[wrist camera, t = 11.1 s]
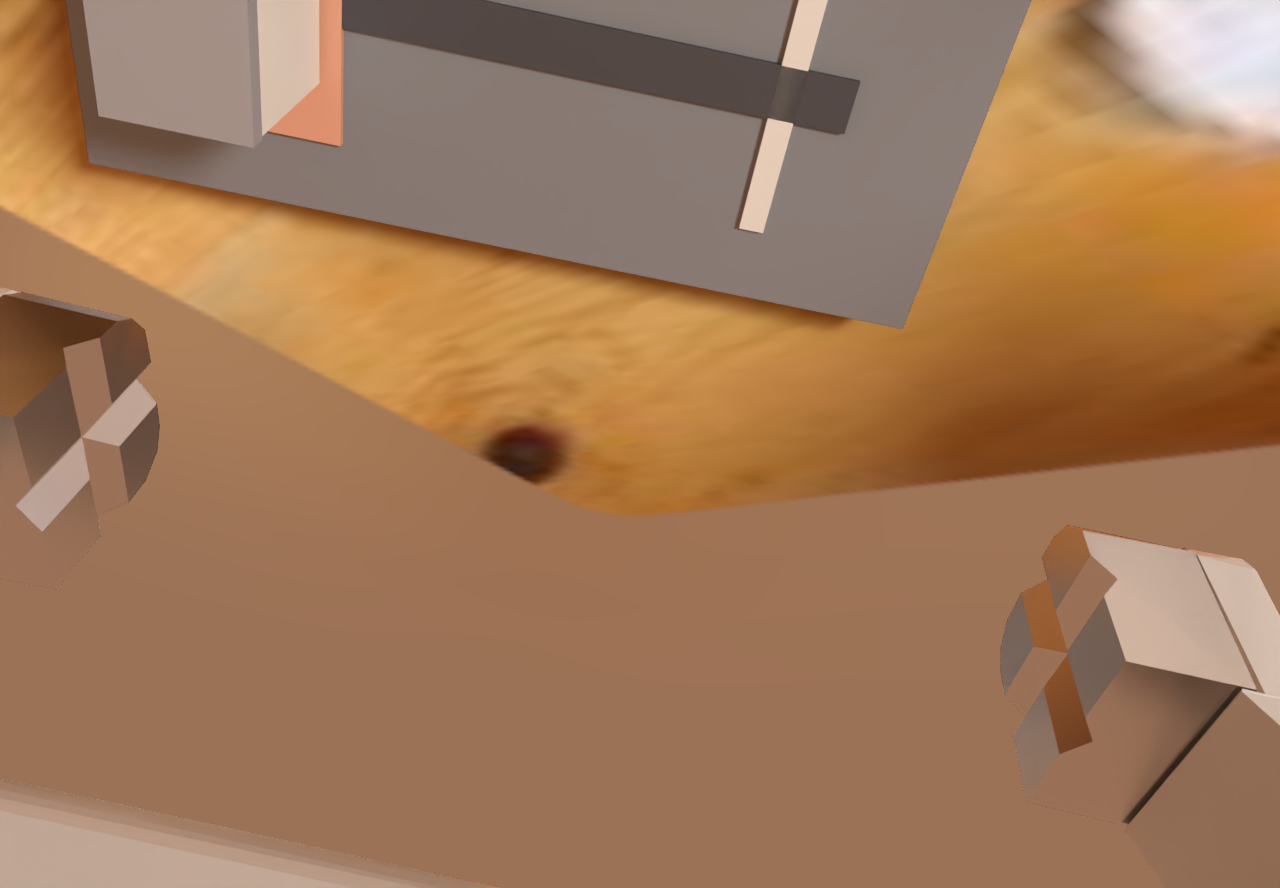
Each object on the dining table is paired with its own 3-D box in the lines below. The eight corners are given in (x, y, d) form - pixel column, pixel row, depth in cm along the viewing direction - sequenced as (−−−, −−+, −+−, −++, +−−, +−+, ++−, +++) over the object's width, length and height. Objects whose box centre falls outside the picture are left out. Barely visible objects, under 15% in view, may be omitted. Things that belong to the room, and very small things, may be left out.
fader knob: (320, -97, 28) (244, -60, 24) (321, 85, 32) (253, 148, 27) (172, -129, 28) (69, -97, 24) (187, 57, 31) (98, 116, 27)
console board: (1055, -135, 29) (1081, -120, 27) (893, 294, 37) (903, 332, 35) (64, -359, 28) (6, -363, 26) (125, 136, 36) (85, 165, 34)
